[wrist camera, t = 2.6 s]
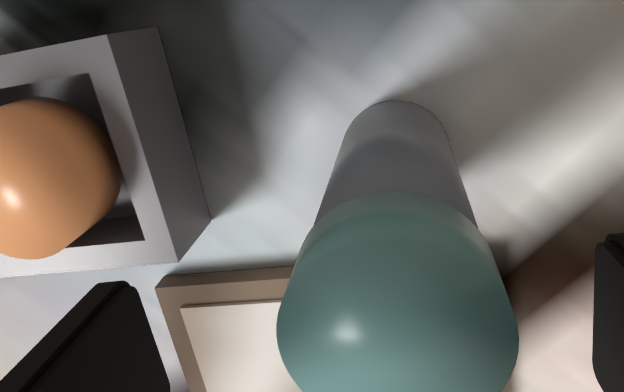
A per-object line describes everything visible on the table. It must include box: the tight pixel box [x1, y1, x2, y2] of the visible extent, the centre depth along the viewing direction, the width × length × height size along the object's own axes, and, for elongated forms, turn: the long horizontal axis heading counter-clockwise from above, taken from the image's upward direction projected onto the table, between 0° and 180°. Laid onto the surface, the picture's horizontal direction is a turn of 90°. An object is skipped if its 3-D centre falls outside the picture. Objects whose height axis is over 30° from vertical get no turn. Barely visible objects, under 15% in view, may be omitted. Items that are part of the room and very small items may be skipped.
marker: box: [276, 101, 519, 392], centre depth 14 cm, size 4×4×11 cm
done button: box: [0, 97, 121, 260], centre depth 17 cm, size 5×5×2 cm
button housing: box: [0, 26, 211, 278], centre depth 19 cm, size 8×8×4 cm
